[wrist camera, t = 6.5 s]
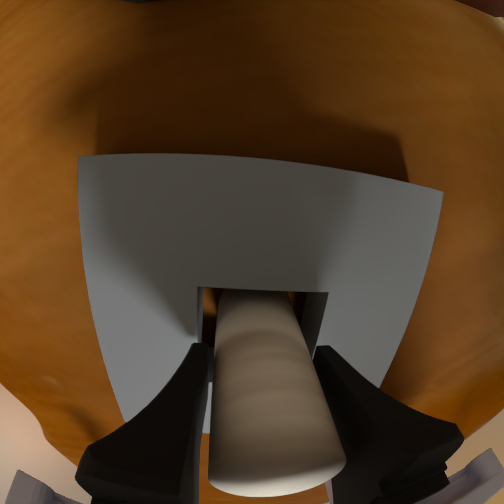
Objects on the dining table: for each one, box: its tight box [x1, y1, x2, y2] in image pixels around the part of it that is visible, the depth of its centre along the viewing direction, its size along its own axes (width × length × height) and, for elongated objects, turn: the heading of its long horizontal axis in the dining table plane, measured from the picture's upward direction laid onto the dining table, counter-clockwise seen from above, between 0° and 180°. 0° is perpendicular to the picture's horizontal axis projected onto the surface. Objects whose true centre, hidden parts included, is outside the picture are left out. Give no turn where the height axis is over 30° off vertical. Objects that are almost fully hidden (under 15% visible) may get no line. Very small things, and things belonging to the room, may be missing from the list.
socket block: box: [78, 153, 443, 433], centre depth 14 cm, size 16×16×3 cm
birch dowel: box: [208, 288, 346, 497], centre depth 11 cm, size 4×4×10 cm
